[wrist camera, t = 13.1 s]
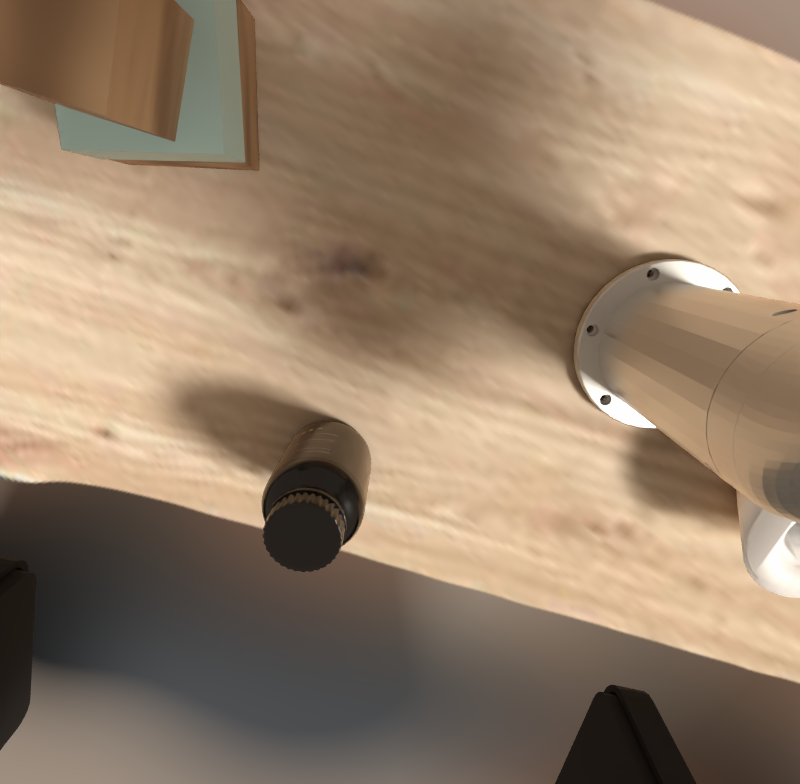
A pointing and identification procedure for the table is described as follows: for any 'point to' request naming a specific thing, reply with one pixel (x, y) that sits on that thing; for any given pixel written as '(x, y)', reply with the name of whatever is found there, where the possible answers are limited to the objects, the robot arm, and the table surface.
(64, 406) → the table surface
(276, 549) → the supplement bottle
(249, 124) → the tower base slab
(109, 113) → the walnut block
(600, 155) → the table surface
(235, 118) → the tower top slab
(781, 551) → the wavy white extrusion
